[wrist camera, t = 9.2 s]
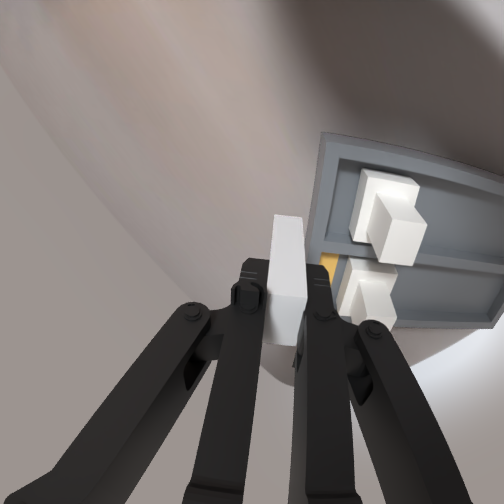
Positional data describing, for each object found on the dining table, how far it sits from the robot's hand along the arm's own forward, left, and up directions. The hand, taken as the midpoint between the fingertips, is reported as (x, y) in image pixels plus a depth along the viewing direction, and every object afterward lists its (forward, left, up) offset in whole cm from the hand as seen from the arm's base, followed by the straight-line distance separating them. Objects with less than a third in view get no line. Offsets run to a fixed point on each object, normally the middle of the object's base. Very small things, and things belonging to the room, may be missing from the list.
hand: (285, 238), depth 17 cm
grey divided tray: (+3, +14, -9) cm, 17 cm away
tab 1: (0, +7, -6) cm, 10 cm away
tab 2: (+7, +8, -6) cm, 12 cm away
